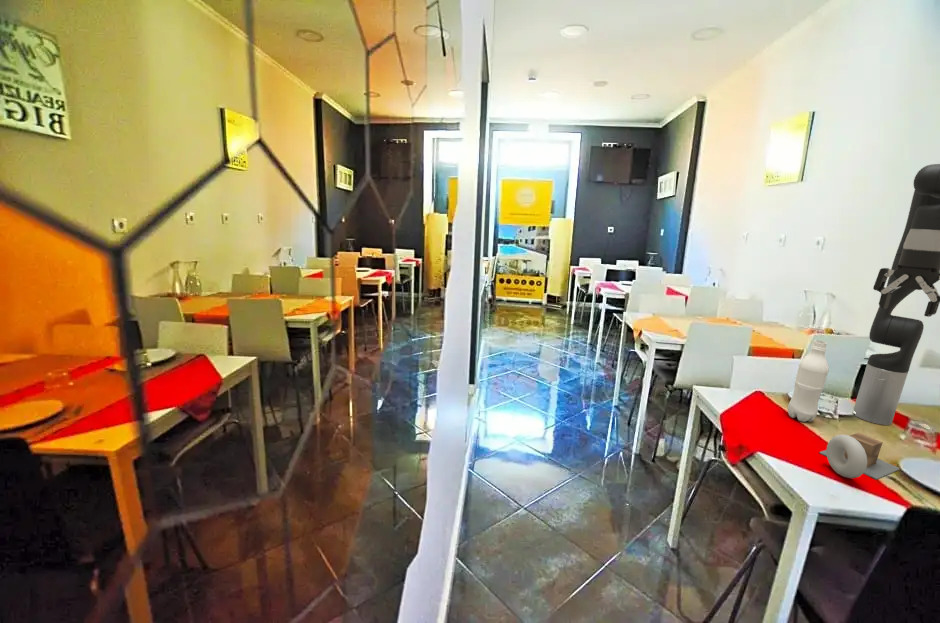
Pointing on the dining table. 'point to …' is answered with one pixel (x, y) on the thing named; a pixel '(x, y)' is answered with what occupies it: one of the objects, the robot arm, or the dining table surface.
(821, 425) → the dining table surface
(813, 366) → the water bottle
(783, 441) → the dining table surface
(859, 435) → the walnut block
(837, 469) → the donut
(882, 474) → the slate mat
